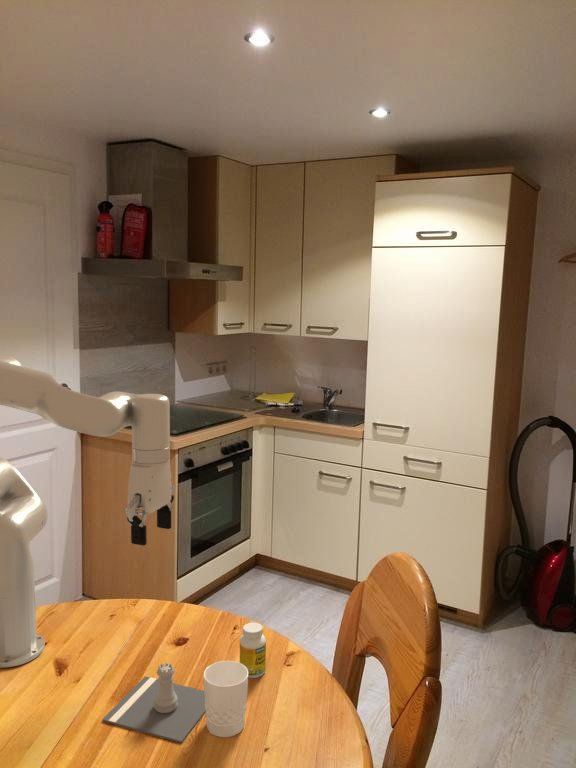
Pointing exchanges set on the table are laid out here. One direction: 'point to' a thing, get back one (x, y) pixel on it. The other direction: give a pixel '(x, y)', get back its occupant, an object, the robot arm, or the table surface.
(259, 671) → the supplement bottle
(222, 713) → the white cup
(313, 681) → the table surface
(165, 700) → the rook chess piece
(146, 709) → the mat
